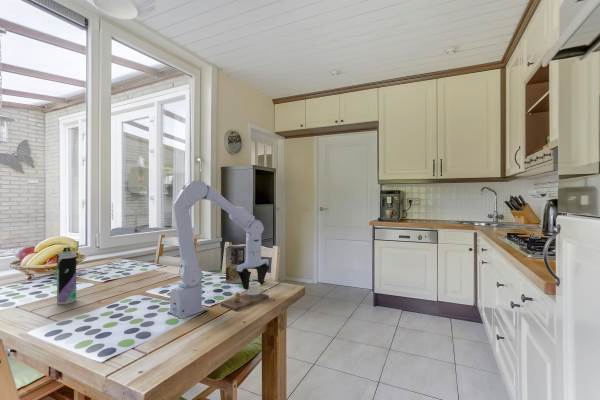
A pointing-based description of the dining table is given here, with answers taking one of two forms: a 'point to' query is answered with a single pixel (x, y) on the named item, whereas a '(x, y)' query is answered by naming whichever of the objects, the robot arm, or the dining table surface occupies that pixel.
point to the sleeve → (253, 290)
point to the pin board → (242, 301)
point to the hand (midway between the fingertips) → (253, 286)
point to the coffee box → (234, 262)
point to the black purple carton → (66, 277)
